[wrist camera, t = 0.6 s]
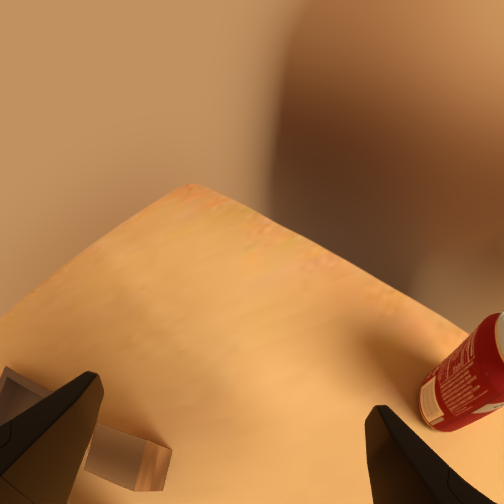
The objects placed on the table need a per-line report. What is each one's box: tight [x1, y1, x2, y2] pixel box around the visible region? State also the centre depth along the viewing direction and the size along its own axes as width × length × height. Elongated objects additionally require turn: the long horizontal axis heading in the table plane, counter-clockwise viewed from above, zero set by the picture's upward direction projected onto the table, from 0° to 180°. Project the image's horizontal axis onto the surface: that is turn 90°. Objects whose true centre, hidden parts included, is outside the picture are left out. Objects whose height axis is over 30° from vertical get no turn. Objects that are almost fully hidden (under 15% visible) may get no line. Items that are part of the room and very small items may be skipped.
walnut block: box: [84, 423, 172, 491], centre depth 16 cm, size 4×4×6 cm
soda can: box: [418, 310, 504, 432], centre depth 16 cm, size 7×7×12 cm
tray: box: [0, 366, 53, 426], centre depth 15 cm, size 18×10×3 cm, turn 171°
